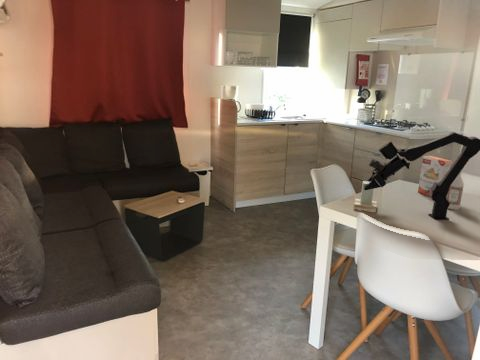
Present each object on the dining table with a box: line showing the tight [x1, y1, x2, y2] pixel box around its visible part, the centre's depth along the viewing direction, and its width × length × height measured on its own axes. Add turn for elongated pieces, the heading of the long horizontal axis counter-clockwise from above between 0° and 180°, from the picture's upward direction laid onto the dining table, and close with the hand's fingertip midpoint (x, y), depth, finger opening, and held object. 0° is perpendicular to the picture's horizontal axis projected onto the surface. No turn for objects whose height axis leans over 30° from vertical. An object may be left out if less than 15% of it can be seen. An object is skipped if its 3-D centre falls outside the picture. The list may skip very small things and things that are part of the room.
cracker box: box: [417, 155, 453, 198], centre depth 217 cm, size 14×6×21 cm, turn 25°
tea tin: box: [359, 180, 374, 205], centre depth 192 cm, size 5×5×10 cm
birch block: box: [353, 198, 378, 213], centre depth 193 cm, size 10×10×3 cm
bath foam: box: [446, 169, 465, 211], centre depth 197 cm, size 7×7×20 cm
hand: (364, 187), depth 191 cm, fingers open, 9 cm apart
